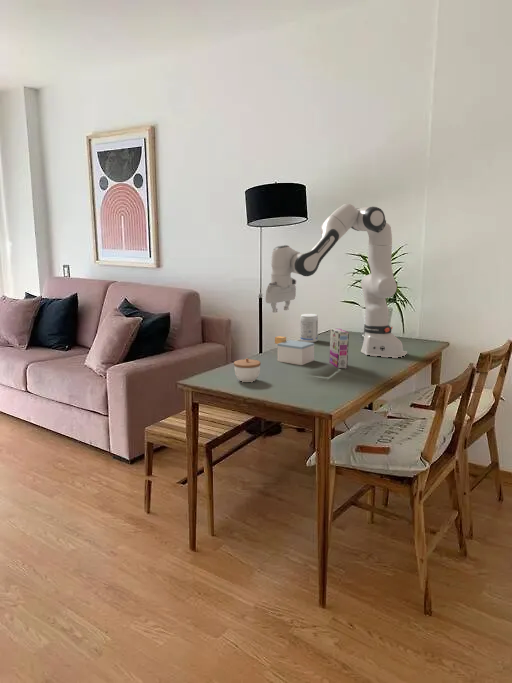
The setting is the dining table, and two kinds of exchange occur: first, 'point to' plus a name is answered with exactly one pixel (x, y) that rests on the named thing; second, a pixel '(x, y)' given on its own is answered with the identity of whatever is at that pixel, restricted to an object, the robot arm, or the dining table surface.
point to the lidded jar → (247, 369)
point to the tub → (295, 355)
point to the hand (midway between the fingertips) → (280, 311)
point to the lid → (292, 343)
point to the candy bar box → (339, 348)
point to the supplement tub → (309, 328)
